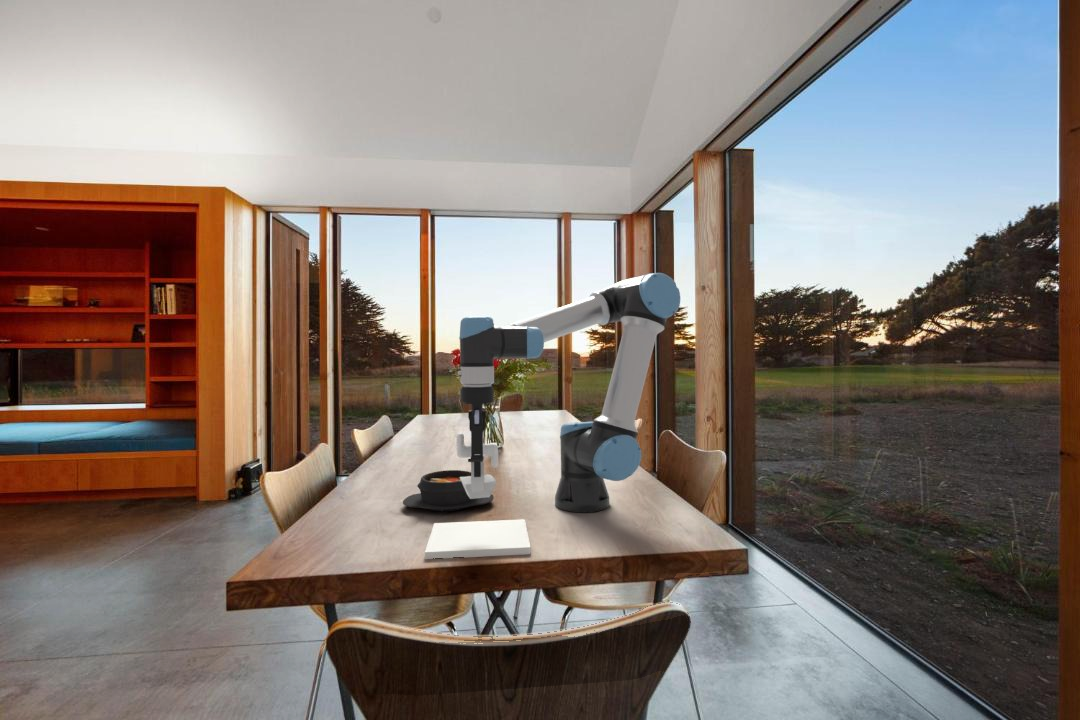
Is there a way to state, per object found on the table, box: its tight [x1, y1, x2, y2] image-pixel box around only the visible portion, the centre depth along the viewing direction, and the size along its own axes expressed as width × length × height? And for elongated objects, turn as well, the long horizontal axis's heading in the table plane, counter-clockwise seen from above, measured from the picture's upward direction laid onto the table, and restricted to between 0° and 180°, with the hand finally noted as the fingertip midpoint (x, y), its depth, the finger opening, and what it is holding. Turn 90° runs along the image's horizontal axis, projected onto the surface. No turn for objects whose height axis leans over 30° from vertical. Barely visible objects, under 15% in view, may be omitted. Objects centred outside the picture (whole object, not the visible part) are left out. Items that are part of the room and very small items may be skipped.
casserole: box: [402, 469, 495, 512], centre depth 144 cm, size 25×19×8 cm
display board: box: [424, 519, 532, 560], centre depth 117 cm, size 22×18×2 cm
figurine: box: [456, 431, 499, 499], centre depth 116 cm, size 7×9×15 cm
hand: (478, 485), depth 116 cm, fingers closed on figurine, 8 cm apart
